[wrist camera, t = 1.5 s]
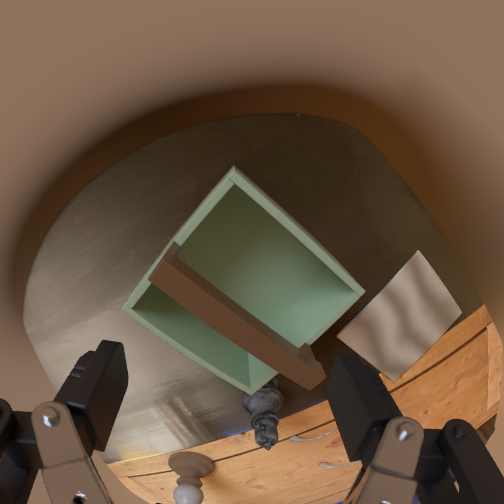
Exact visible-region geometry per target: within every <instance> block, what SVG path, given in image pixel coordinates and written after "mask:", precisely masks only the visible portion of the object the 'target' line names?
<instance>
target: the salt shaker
mask: <svg viewBox="0 0 504 504" xmlns="http://www.w3.org/2000/svg"><path fill="white" fill-rule="evenodd" d="M278 385H279V384H278V380H277V379H276V378H275V377H273V378H272V379H271V380H270V381H268V382H267V383H266V384H265V385H263V386H262V387H261V388H260V389H259V390H257V391H256V392H255V393H253V394H252V395H250V394H248V393H246V392H244V391H243V392H244V396H243V397H242V400H241V406H242V409H243V410H244V411H245V412H247V413H248V414H251V415H253V419H252V421H251V426H252V427H253V428H254V430H255V440H256V443H257V444H258V445H259V446H261V447H265V449H267V450H268V451H269V450H270V448H271V446H274V445H275V444H276V443H277V441H278V432H277V425H278V423H279V420H278V418H277V417H276V416H275V412H277V411H278V410H279V409H280V408H281V407H282V405H283V403H284V398H283V395H282V394H281V393H280V392H279V391H278V390H277V389H278Z"/></svg>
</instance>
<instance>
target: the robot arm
mask: <svg viewBox="0 0 504 504" xmlns="http://www.w3.org/2000/svg"><path fill="white" fill-rule="evenodd" d="M127 387H128V370H127V364H126V358H125V352H124V346H123V344H122V343H121V342H115V341H108V340H102V341H101V343H100V344H99V346H98V348H97V349H96V351H88V352H87V353H85V354H84V355H83V356H81V357H80V358H79V360H78V361H77V363H76V364H75V366H74V368H73V369H72V371H71V372H70V375H69V376H68V377H67V379H66V380H65V382H64V384H63V385H62V387H61V389H60V390H59V392H58V394H57V395H56V397H55V399H54V400H53V401H49V402H44V403H42V404H40V405H38V406H37V407H36V408H35V409H34V411H33V412H21V411H13V410H12V408H11V407H10V405H9V403H8V402H6V401H5V400H3V399H1V398H0V459H1V460H0V504H27V502H28V499H29V496H30V493H31V490H32V487H33V484H34V481H35V478H36V475H37V473H38V470H39V469H41V474H42V478H43V481H44V484H45V486H46V489H47V492H48V495H49V498H50V500H51V503H52V504H115V502H114V501H113V499H112V497H111V495H110V494H109V492H108V490H107V488H106V486H105V485H104V483H103V481H102V479H101V477H100V475H99V473H98V471H97V469H96V467H95V465H94V463H93V460H92V458H91V456H92V453H93V451H94V450H98V451H102V452H104V451H105V448H106V445H107V442H108V439H109V436H110V433H111V431H112V428H113V425H114V422H115V419H116V417H117V414H118V411H119V409H120V406H121V403H122V400H123V398H124V395H125V393H126V390H127ZM327 399H328V402H329V405H330V407H331V410H332V413H333V416H334V418H335V421H336V424H337V427H338V430H339V432H340V435H341V438H342V441H343V444H344V446H345V449H346V452H347V455H348V458H349V461H350V462H353V461H359V460H361V462H362V467H361V469H360V470H359V473H358V475H357V477H356V479H355V481H354V482H353V484H352V486H351V488H350V490H349V492H348V494H347V496H346V498H345V499H344V501H343V503H342V504H411V503H412V500H413V497H414V493H415V490H416V492H417V495H418V498H419V500H420V503H421V504H504V477H503V475H502V474H501V472H500V470H499V468H498V467H497V465H496V463H495V462H494V460H493V458H492V457H491V455H490V453H489V452H488V451H487V448H486V447H485V445H484V444H483V442H482V440H481V439H480V437H479V436H478V434H477V432H476V431H475V429H474V428H473V426H472V425H471V424H469V423H468V422H466V421H464V420H461V419H452V420H450V421H448V422H447V423H446V424H445V426H444V427H443V429H423V428H422V426H421V425H420V423H418V422H417V421H416V420H414V419H412V418H410V417H405V416H403V415H402V414H401V412H400V410H399V408H398V407H397V405H396V403H395V401H394V400H393V398H392V396H391V395H390V393H389V391H387V388H386V386H385V385H384V384H383V381H382V380H381V378H380V376H379V375H378V373H377V372H376V371H374V370H373V369H372V368H371V367H369V366H364V365H363V363H362V362H361V360H360V358H359V357H358V355H357V354H338V355H337V356H336V357H335V360H334V363H333V367H332V370H331V374H330V377H329V380H328V383H327ZM2 455H3V456H2ZM1 457H2V458H1ZM450 470H451V471H452V473H453V475H454V477H455V479H456V481H457V483H458V485H459V493H458V491H457V489H456V487H455V484H454V482H453V480H452V478H451V476H450V474H449V471H450ZM156 504H161V503H156Z"/></svg>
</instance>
